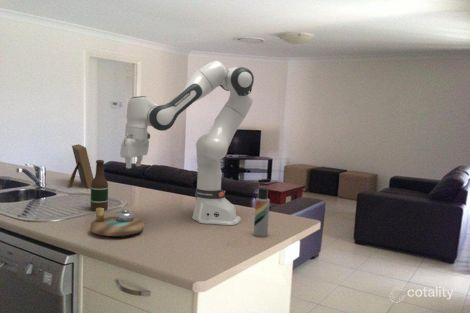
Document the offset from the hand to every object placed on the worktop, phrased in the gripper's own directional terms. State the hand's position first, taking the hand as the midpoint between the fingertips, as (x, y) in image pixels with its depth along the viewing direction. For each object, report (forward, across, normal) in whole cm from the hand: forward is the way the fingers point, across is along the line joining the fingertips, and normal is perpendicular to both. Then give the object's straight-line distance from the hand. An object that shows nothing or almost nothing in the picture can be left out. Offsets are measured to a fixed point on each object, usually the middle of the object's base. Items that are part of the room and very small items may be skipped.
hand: (133, 167), depth 165 cm
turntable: (+23, -13, -1) cm, 26 cm away
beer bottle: (+25, +16, +23) cm, 38 cm away
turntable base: (+25, -13, -1) cm, 28 cm away
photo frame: (+25, +67, +64) cm, 96 cm away
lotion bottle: (+22, +3, -56) cm, 61 cm away
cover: (+21, -7, -1) cm, 22 cm away
